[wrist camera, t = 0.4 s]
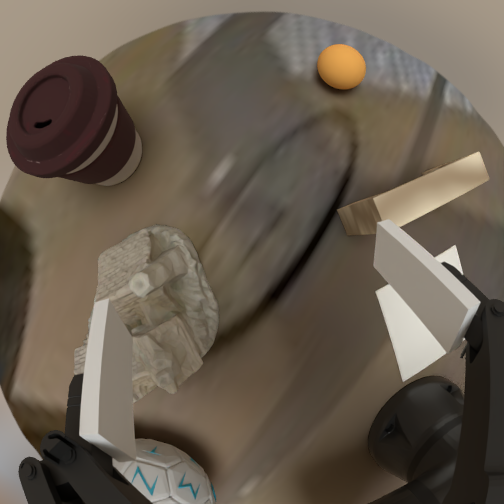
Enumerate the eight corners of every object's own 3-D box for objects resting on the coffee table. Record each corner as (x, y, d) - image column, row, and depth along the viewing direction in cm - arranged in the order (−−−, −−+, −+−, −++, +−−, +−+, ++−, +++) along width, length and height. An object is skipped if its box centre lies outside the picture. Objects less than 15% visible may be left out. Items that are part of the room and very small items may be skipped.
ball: (363, 91, 32) (382, 70, 26) (325, 101, 32) (340, 80, 26) (342, 56, 32) (356, 32, 26) (304, 64, 31) (314, 39, 26)
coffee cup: (109, 101, 30) (50, 33, 15) (173, 138, 31) (132, 67, 16) (61, 171, 30) (-22, 137, 15) (120, 215, 31) (42, 197, 16)
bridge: (440, 190, 33) (489, 179, 24) (347, 235, 32) (386, 233, 23) (432, 168, 33) (479, 151, 24) (336, 209, 32) (373, 198, 23)
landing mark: (473, 331, 34) (474, 331, 34) (402, 381, 33) (403, 381, 33) (454, 245, 33) (455, 245, 33) (374, 291, 33) (375, 291, 32)
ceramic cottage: (195, 213, 31) (147, 203, 16) (235, 361, 33) (225, 449, 18) (71, 250, 32) (-21, 265, 17) (113, 380, 33) (53, 450, 18)
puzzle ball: (129, 394, 31) (78, 471, 17) (240, 451, 32) (244, 541, 17) (94, 463, 31) (54, 530, 16) (187, 509, 32) (177, 584, 17)
